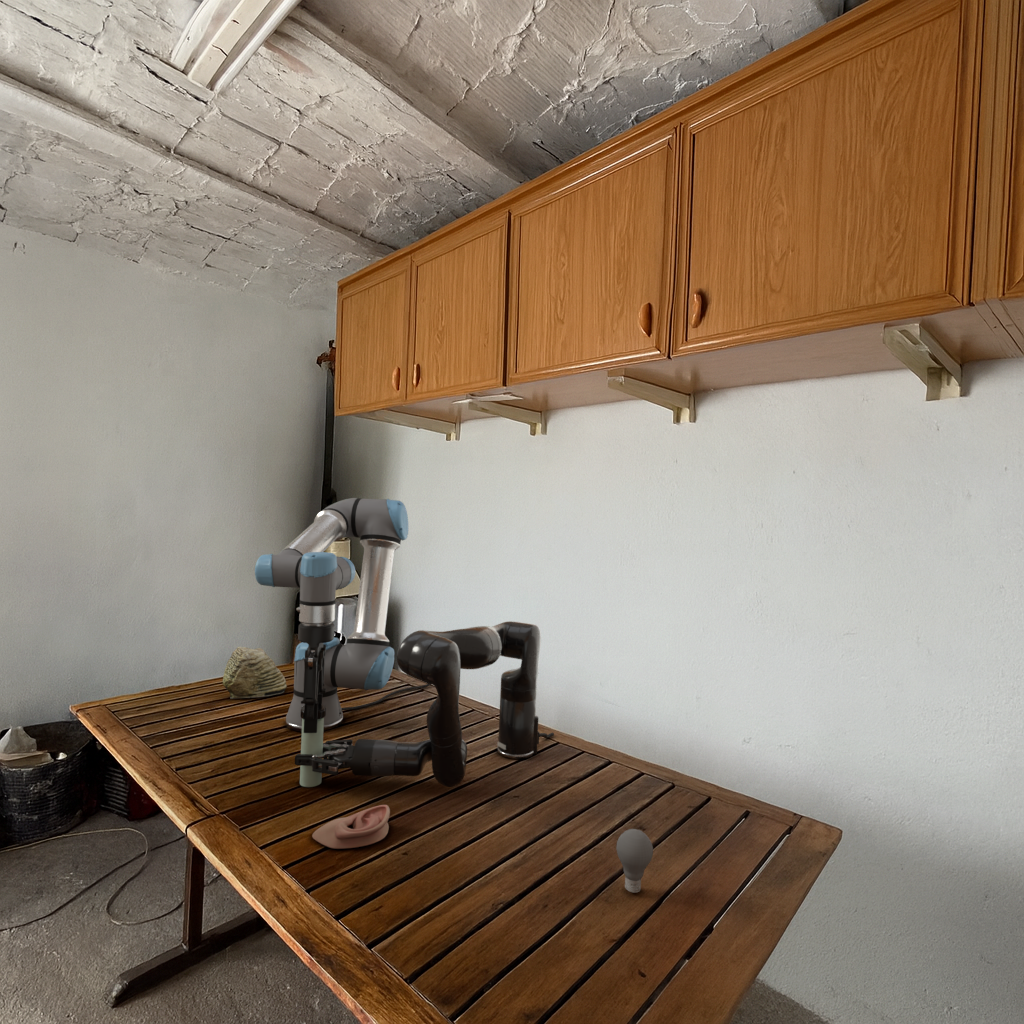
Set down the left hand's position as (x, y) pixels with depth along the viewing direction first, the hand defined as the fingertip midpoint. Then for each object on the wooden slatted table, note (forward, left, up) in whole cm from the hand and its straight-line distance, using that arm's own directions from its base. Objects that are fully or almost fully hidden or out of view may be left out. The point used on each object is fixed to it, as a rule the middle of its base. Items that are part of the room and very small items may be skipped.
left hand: (312, 727), depth 140 cm
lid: (0, 0, +4) cm, 4 cm away
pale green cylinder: (0, 0, -12) cm, 12 cm away
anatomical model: (+7, +24, -12) cm, 28 cm away
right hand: (+2, -2, -6) cm, 7 cm away
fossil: (-23, -64, -12) cm, 69 cm away
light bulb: (-14, +72, -12) cm, 75 cm away
